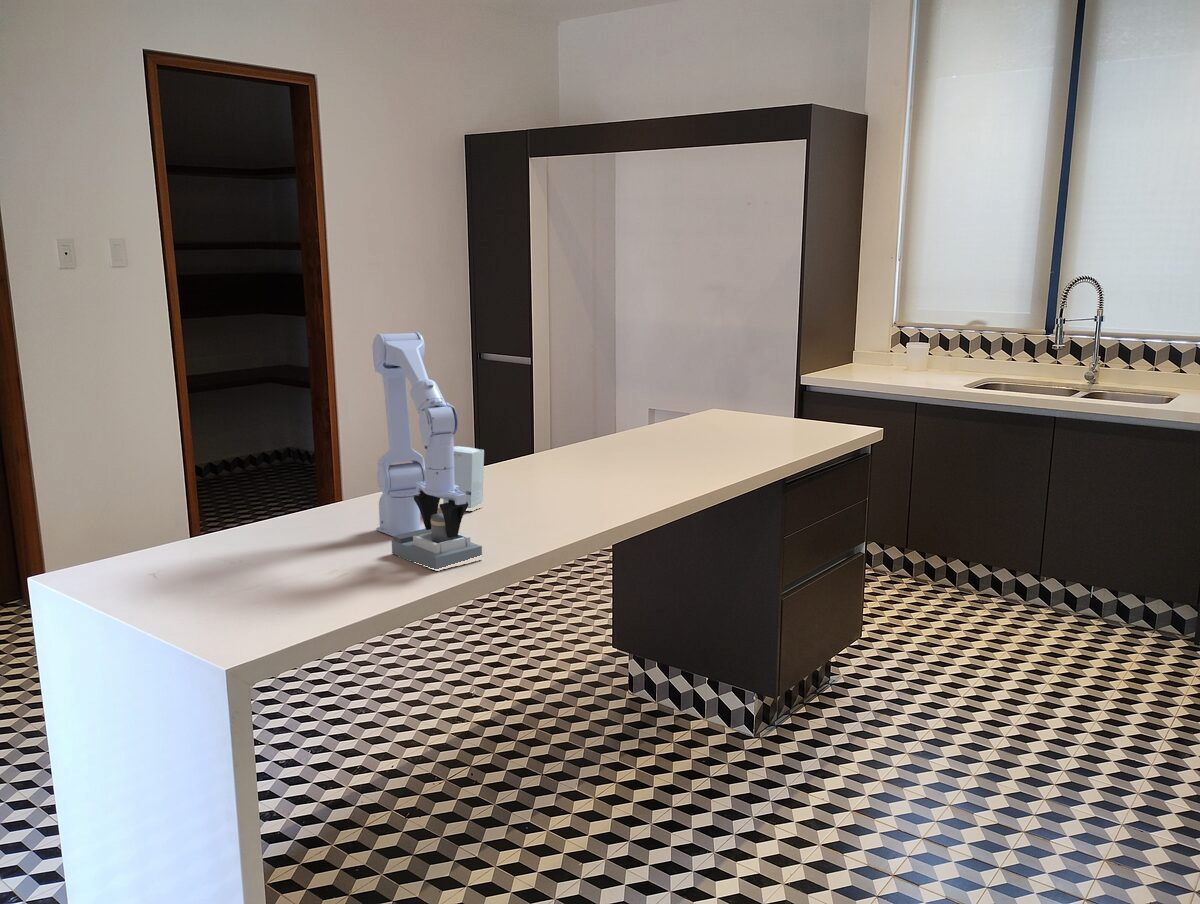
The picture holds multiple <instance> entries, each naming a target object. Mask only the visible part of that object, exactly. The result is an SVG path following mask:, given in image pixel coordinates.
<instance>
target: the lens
mask: <svg viewBox="0 0 1200 904" xmlns="http://www.w3.org/2000/svg"><path fill="white" fill-rule="evenodd" d="M431 534H432V542H435V543H438V544H439V543H441V542H445V541H449V540H454V539H456V537H452V538H448V537H447V534H446V527H445V520H444V516H443V513H442V512H439V513H438V512H437V514H433V515H431Z"/></svg>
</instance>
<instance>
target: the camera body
mask: <svg viewBox="0 0 1200 904" xmlns="http://www.w3.org/2000/svg"><path fill="white" fill-rule="evenodd" d="M392 553H393V554H395V555H394V556H396V555H398V556H400V557H399V558H401V557H403V558H405V559H408V560H411V561H413V562H416V563H419V564H422V565H425V566H428V567H430V568H434V569H439V568H442V567H446V566H448V565H451V564H455V563H458V562H461V561H465V560H468V559H470V558H474V557H477V556H480V555H482V556H483V546H482V545H480V544H477V543H474V542H472V541H471V536H470V535H466V534H463V533H460V532H458V536H456V539H454V540H449V541H445V542H441V543H439V544H438V543H435V542H432V534H431V529H430V530H426V528H425V529H421V530H417V531H412V532H408V533H403V534H399V535H394V536H392V539H391V554H392ZM393 554H392V555H393ZM398 556H397V557H398ZM403 558H402V559H403ZM405 559H404V560H405ZM408 560H407V561H408ZM413 562H412V563H413Z"/></svg>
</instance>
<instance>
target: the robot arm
mask: <svg viewBox="0 0 1200 904" xmlns="http://www.w3.org/2000/svg"><path fill="white" fill-rule="evenodd" d="M371 346H372V347H371V348H372V357H373V358H372V361H373V366H374V371H375V373H378V374H380V375H381V377H382V381H383V390H384V402H385V405H384V406H385V413H386V415H385V416H386V423H387V424H386V425H387V438H388V448H389V449H388V450H387V451H386V452H385V453H384V454H383V455H381V456H380V458H378V461H377V473H376V474H377V475H376V478H377V479H376V480H377V486H378V488H379V491H380V492H381V493H382V494H381V495H380V497H379V500H378V515H379V516H378V517H379V518H378V519H379V526H378V527H376V528H375V529H376V531H378V532H381V533H383V534H386V535H388V536H391V537H393V536H394V535H399V534H403V533H408V532H412V531H417V530H421V529H426V530H430V529H431V515H433V514H437V513H438V510H439V508H440V510H441V513H443V516H444V520H445V527H446V534H447V537H448V538H452V537H456V536H458V533H460V532H459V531H460V527H461V523H462V519H463V517H464V514H465V513H466V512H465V511H466V509H467V507H468V502H466V494H464V493H462V492H460V491H459V490H458V489H459V486H457V485H455V481H454V445H455V443H454V435H455V434H457V432H458V428H459V417H458V413H457V411H456V408H455V406H454V405H452V404H450V403H449V402H447V401H446V400H445V398H444V397H443V395H442V393H441V392H442V391H440V388H439V385H438V384H437V382H435V380H432V379H429V376H428V373H427V371H426V367H425V363H424V356H425V353H426V349H425V348H426V345H425V340H424V337H423V335H422V334H421V333H419V332H418V331H415V332H407V333H405V332H404V333H401V332H400V333H376V334H375V336H374V338H373V342H372V345H371ZM406 379H407V380H408V382H409V384H410V385H411V389H410V391H409V394H410V395H409V396H410V397H411V399H412V402H413V404H414V406H415V408H416V410H417V413H418V416H419V417H418V425H419V426H418V427H419V431H420V434H421V443H422V445H424V446H423V447H424V456H423V455H422V454H421V453H419V452H418V451H416V450H415V449H413V446H412V436H411V435H412V434H411V423H410V412H409V402H408V390H407V380H406ZM403 462H404V463H403ZM394 463H395V464H394ZM397 463H398V464H397ZM443 499H445V500H448V503H440V500H443ZM421 518H422V521H423V525H424V527H423V526H421V525H422V524H421Z"/></svg>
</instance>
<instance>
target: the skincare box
mask: <svg viewBox="0 0 1200 904" xmlns="http://www.w3.org/2000/svg"><path fill="white" fill-rule="evenodd" d="M484 464H485V450H484V449H481V448H480V449H479V448H474V447H470V446H469V447H468V446H459V445H455V446H454V481H455V485H457V486H459V489H458V490H459V491H460V492H462V493H464V494H466V502H468V507H467V508H473V507H475V506H477V505H478V504H481V503H482V502H483V503H484V477H485V476H484V475H485V474H484V473H485V472H484V470H485V469H484V468H485V467H484V466H485V465H484ZM442 500H443V501H442V502H443V503H448V500H445V499H442ZM443 503H442V504H443Z"/></svg>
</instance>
